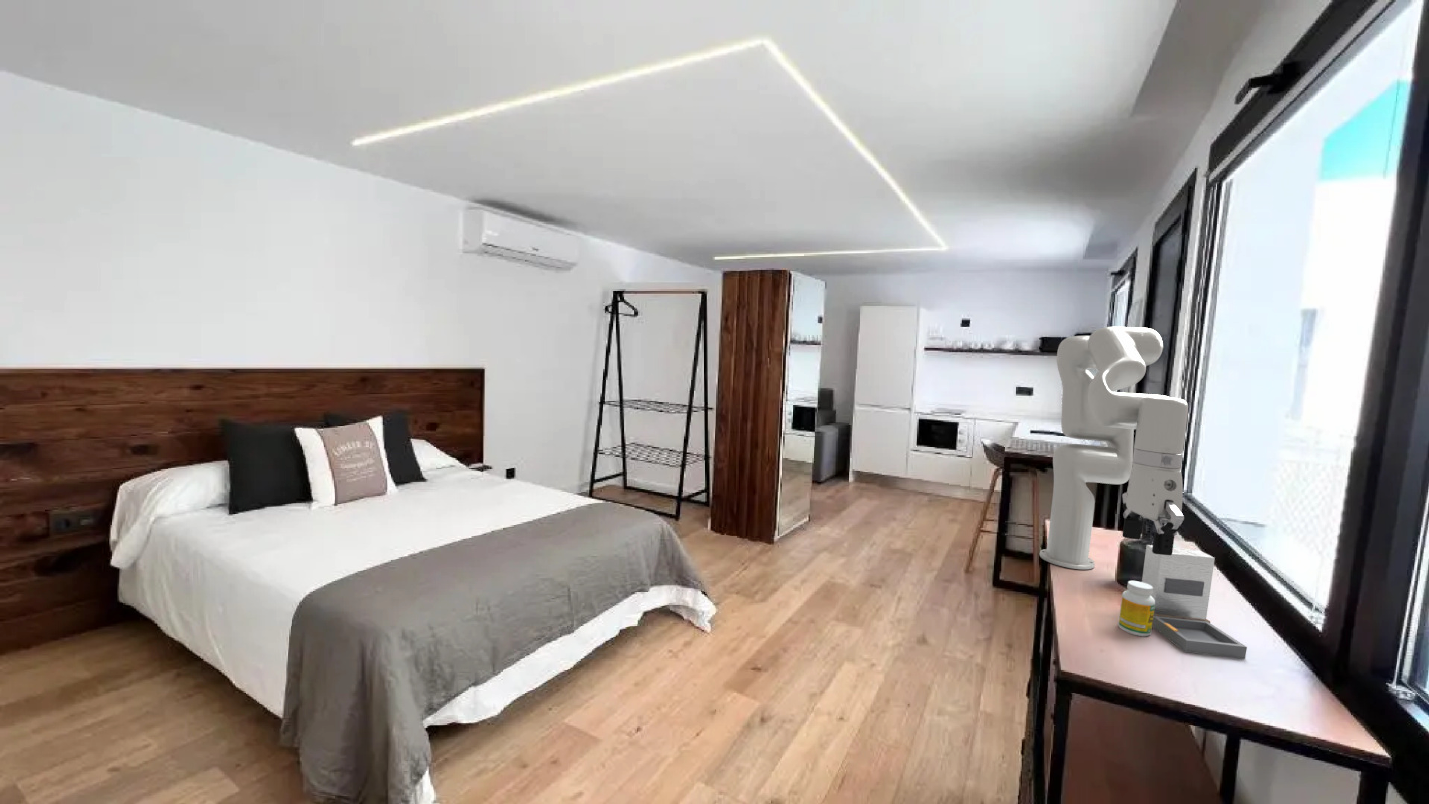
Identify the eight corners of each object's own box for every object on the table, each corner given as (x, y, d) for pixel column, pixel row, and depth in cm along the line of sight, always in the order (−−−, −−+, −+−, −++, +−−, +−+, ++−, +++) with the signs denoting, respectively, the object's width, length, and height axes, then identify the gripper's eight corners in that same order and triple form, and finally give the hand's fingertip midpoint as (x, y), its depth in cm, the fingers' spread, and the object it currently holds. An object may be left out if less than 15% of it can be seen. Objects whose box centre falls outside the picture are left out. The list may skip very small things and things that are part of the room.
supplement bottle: (1117, 621, 119) (1123, 576, 118) (1149, 629, 116) (1155, 583, 115) (1118, 631, 114) (1124, 585, 114) (1152, 640, 112) (1158, 592, 111)
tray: (1151, 626, 118) (1152, 614, 117) (1205, 631, 116) (1207, 620, 116) (1184, 651, 108) (1186, 639, 107) (1245, 658, 106) (1247, 646, 106)
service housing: (1134, 609, 125) (1142, 543, 124) (1189, 615, 124) (1198, 548, 123) (1151, 622, 119) (1160, 553, 118) (1209, 628, 118) (1219, 558, 117)
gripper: (1209, 470, 103) (1197, 563, 104) (1150, 454, 120) (1140, 534, 121) (1164, 466, 104) (1152, 559, 105) (1111, 451, 121) (1101, 531, 122)
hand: (1145, 545), depth 113 cm, fingers open, 9 cm apart
